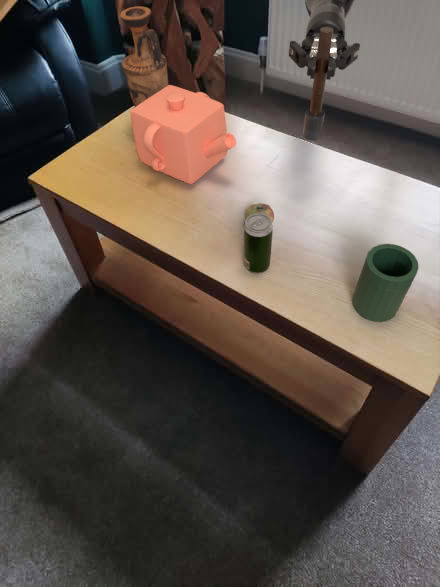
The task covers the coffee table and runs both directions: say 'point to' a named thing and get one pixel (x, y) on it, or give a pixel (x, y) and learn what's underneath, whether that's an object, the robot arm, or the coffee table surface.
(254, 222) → the beer can
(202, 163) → the teapot
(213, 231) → the coffee table surface
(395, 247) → the green hollow cylinder
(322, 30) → the brush
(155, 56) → the vase
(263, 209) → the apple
